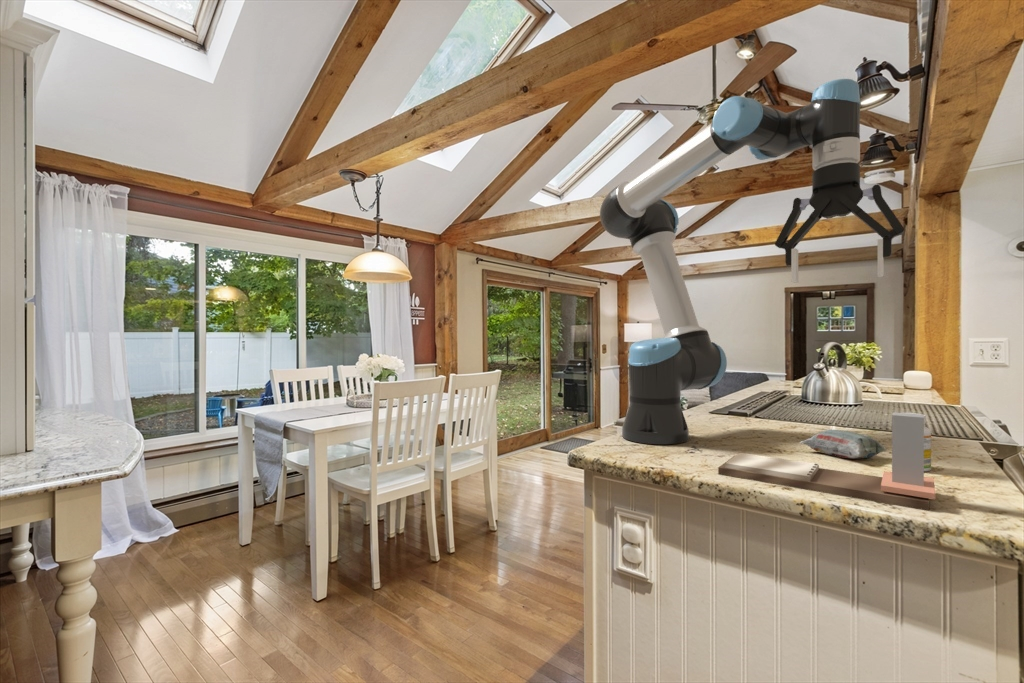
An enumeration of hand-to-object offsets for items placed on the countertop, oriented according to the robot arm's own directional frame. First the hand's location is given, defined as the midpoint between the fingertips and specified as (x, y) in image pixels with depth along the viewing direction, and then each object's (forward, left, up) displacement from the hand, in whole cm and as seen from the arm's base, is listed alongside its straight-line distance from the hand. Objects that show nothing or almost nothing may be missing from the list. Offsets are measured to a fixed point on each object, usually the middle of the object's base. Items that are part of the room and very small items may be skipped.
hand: (835, 279), depth 92 cm
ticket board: (+10, -15, -35) cm, 39 cm away
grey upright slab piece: (+19, -8, -33) cm, 39 cm away
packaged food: (-2, +4, -35) cm, 35 cm away
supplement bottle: (+8, +8, -35) cm, 37 cm away
